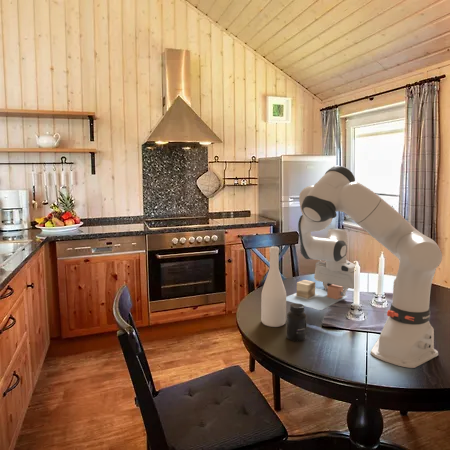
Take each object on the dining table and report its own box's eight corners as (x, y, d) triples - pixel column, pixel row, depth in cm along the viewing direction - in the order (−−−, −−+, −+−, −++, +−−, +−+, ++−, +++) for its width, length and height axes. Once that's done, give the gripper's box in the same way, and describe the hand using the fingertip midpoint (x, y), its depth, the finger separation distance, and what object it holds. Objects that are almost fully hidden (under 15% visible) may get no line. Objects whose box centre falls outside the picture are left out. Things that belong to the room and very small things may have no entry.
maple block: (307, 298, 179) (308, 285, 178) (296, 295, 183) (296, 282, 182) (315, 294, 183) (315, 282, 182) (303, 292, 187) (304, 279, 186)
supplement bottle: (301, 343, 137) (302, 310, 135) (283, 339, 141) (284, 306, 139) (308, 336, 143) (309, 304, 141) (291, 332, 146) (291, 300, 145)
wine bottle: (290, 322, 155) (292, 246, 151) (276, 329, 148) (277, 251, 144) (270, 316, 162) (271, 243, 157) (256, 323, 155) (256, 247, 150)
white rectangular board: (320, 313, 164) (320, 310, 164) (281, 301, 178) (281, 298, 178) (348, 298, 181) (348, 295, 181) (310, 289, 195) (310, 286, 195)
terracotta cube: (337, 299, 177) (337, 288, 176) (327, 296, 180) (327, 286, 179) (342, 296, 180) (343, 286, 179) (332, 294, 184) (333, 283, 183)
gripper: (312, 261, 183) (311, 290, 185) (354, 269, 169) (352, 300, 171) (319, 258, 187) (318, 287, 189) (360, 266, 173) (359, 297, 175)
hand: (335, 293), depth 180 cm, fingers open, 6 cm apart
